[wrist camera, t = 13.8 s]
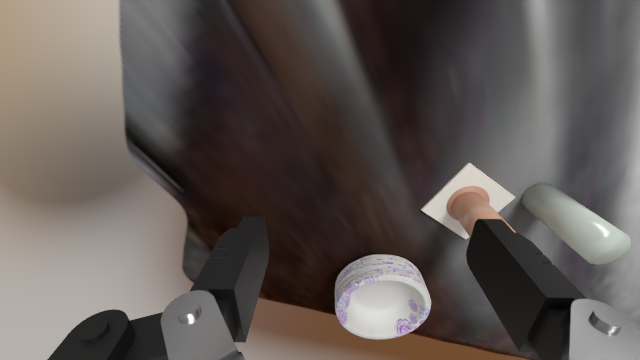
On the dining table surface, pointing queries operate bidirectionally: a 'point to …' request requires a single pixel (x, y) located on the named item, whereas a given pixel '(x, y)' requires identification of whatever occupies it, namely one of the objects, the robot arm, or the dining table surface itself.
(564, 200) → the grey-green tube
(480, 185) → the card
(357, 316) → the paper bowls
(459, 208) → the terracotta tube
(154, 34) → the dining table surface
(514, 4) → the dining table surface
